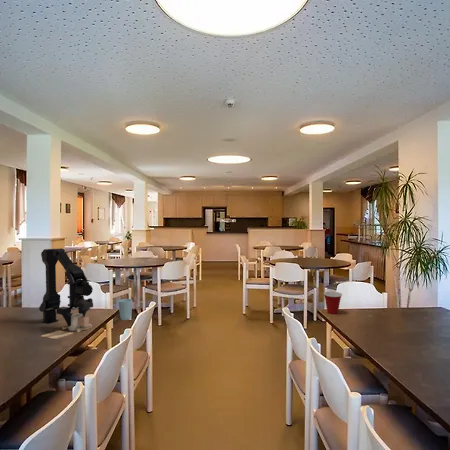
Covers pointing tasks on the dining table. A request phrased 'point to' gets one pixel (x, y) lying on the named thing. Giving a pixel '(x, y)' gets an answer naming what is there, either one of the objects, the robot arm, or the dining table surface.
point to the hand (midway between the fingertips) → (75, 324)
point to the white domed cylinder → (78, 322)
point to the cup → (125, 308)
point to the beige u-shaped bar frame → (79, 328)
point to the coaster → (57, 334)
